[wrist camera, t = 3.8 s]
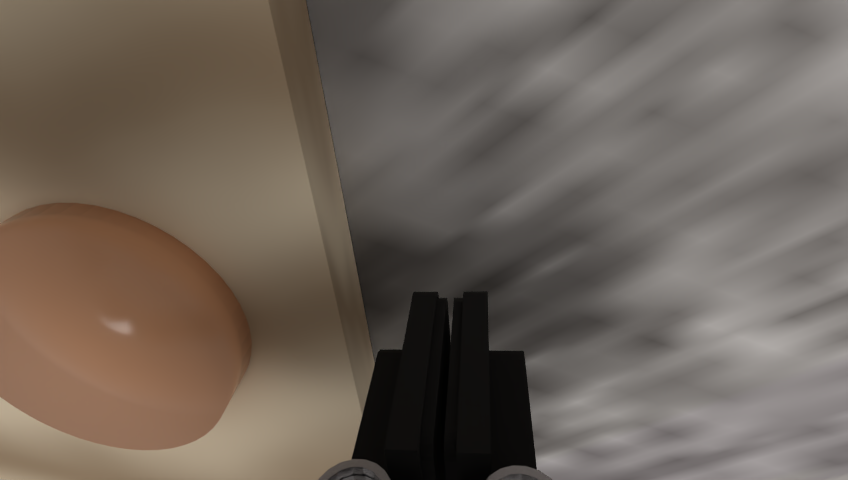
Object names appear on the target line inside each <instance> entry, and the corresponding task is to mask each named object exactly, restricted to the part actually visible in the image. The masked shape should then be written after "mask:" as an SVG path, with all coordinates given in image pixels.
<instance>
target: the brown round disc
mask: <svg viewBox="0 0 848 480" xmlns="http://www.w3.org/2000/svg"><path fill="white" fill-rule="evenodd" d="M251 348H252V341H251V334H250V329H249V325H248V322H247V319H246V316H245V314H244V312H243V310H242V308H241V305H240V303H239V302H238V300H237V299H236V297H235V295H234V294H233V292H232V291H231V289H230V288H229V287H228V285H227V284H226V283H225V282H224V280H223V279H222V278H221V277H220V275H219V274H218V273H217V272H216V271H215V270H214V269H213V268H212V267H211V266H210V265H209V264H208V263H207V262H206V261H205V260H204V259H202V258H201V257H200V256H199V255H198V254H196V253H195V252H194V251H193V250H192V249H190V248H189V247H188V246H186V245H185V244H183V243H182V242H180V241H179V240H177V239H176V238H175V237H173V236H171V235H170V234H168V233H166V232H164V231H163V230H161V229H159V228H157V227H155V226H153V225H151V224H149V223H147V222H145V221H142V220H140V219H138V218H136V217H133V216H130V215H127V214H125V213H122V212H119V211H116V210H112V209H108V208H104V207H100V206H96V205H88V204H80V203H52V204H43V205H39V206H35V207H32V208H28V209H25V210H23V211H21V212H19V213H17V214H15V215H13V216H12V217H10V218H8V219H6V220H5V221H3V222H1V223H0V397H1V398H2V399H4V400H5V401H7V402H8V403H9V404H11V405H12V406H14V407H15V408H17V409H19V410H20V411H22V412H24V413H25V414H27V415H29V416H30V417H32V418H34V419H36V420H38V421H40V422H42V423H44V424H46V425H48V426H50V427H52V428H55V429H57V430H59V431H61V432H64V433H66V434H69V435H72V436H75V437H77V438H80V439H83V440H87V441H90V442H93V443H97V444H102V445H106V446H110V447H116V448H123V449H132V450H162V449H170V448H175V447H179V446H183V445H186V444H189V443H191V442H194V441H196V440H198V439H199V438H201V437H203V436H205V435H206V434H207V433H208V432H209V431H210V430H212V429H213V428H214V426H215V425H216V424H217V423H218V421H219V420H220V418H221V416H222V415H223V413H224V411H225V409H226V407H227V405H228V404H229V402H230V400H231V398H232V396H233V394H234V393H235V391H236V389H237V387H238V385H239V384H240V382H241V380H242V378H243V376H244V374H245V372H246V370H247V368H248V366H249V362H250V358H251Z"/></svg>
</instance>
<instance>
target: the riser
mask: <svg viewBox="0 0 848 480" xmlns="http://www.w3.org/2000/svg"><path fill="white" fill-rule="evenodd" d="M52 203H80V204H88V205H96V206H100V207H104V208H108V209H112V210H116V211H119V212H122V213H125V214H127V215H130V216H133V217H136V218H138V219H140V220H142V221H145V222H147V223H149V224H151V225H153V226H155V227H157V228H159V229H161V230H163V231H164V232H166V233H168V234H170V235H171V236H173V237H175V238H176V239H177V240H179V241H180V242H182V243H183V244H185V245H186V246H188V247H189V248H190V249H192V250H193V251H194V252H195V253H196V254H198V255H199V256H200V257H201V258H202V259H204V260H205V261H206V262H207V263H208V264H209V265H210V266H211V267H212V268H213V269H214V270H215V271H216V272H217V273H218V274H219V275H220V277H221V278H222V279H223V280H224V282H225V283H226V284H227V285H228V287H229V288H230V289H231V291H232V292H233V294H234V295H235V297H236V299H237V300H238V302H239V303H240V305H241V308H242V310H243V312H244V314H245V316H246V319H247V322H248V325H249V329H250V334H251V341H252V348H251V358H250V362H249V366H248V368H247V370H246V372H245V374H244V376H243V378H242V380H241V382H240V384H239V385H238V387H237V389H236V391H235V393H234V394H233V396H232V398H231V400H230V402H229V404H228V405H227V407H226V409H225V411H224V413H223V415H222V416H221V418H220V420H219V421H218V423H217V424H216V425H215V426H214V428H213V429H212V430H210V431H209V432H208V433H207V434H206V435H205V436H203V437H201V438H199V439H198V440H196V441H194V442H191V443H189V444H186V445H183V446H179V447H175V448H170V449H162V450H132V449H123V448H116V447H110V446H106V445H102V444H97V443H93V442H90V441H87V440H83V439H80V438H77V437H75V436H72V435H69V434H66V433H64V432H61V431H59V430H57V429H55V428H52V427H50V426H48V425H46V424H44V423H42V422H40V421H38V420H36V419H34V418H32V417H30V416H29V415H27V414H25V413H24V412H22V411H20V410H19V409H17V408H15V407H14V406H12V405H11V404H9V403H8V402H7V401H5V400H4V399H2V398H1V397H0V479H2V480H318V479H319V478H320V477H321V476H322V475H323V474H324V473H325V472H326V471H327V470H328V469H329V468H331V467H333V466H335V465H337V464H338V463H340V462H343V461H347V460H351V459H352V455H353V451H354V447H355V443H356V439H357V435H358V431H359V427H360V423H361V419H362V415H363V411H364V407H365V402H366V398H367V394H368V390H369V386H370V382H371V378H372V374H373V370H374V366H375V363H374V357H373V352H372V347H371V341H370V336H369V331H368V326H367V320H366V315H365V310H364V304H363V299H362V294H361V289H360V283H359V278H358V273H357V268H356V262H355V257H354V252H353V246H352V241H351V236H350V231H349V225H348V220H347V215H346V210H345V204H344V199H343V194H342V188H341V183H340V178H339V173H338V167H337V162H336V157H335V152H334V146H333V141H332V136H331V130H330V125H329V120H328V115H327V109H326V104H325V99H324V93H323V88H322V83H321V78H320V72H319V67H318V62H317V57H316V51H315V46H314V41H313V35H312V30H311V25H310V20H309V14H308V9H307V4H306V0H0V223H1V222H3V221H5V220H6V219H8V218H10V217H12V216H13V215H15V214H17V213H19V212H21V211H23V210H25V209H28V208H32V207H35V206H39V205H43V204H52Z"/></svg>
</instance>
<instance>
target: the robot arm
mask: <svg viewBox="0 0 848 480" xmlns="http://www.w3.org/2000/svg"><path fill="white" fill-rule="evenodd" d="M318 480H552V479H551V478H550V477H548V476H547V475H545V474H544V473H542V472H541V471H539V470H537V468H536V459H535V449H534V440H533V431H532V421H531V412H530V403H529V393H528V384H527V375H526V365H525V357H524V352H523V351H489V339H488V293H487V292H464V293H463V298H454V307H453V321H452V335H451V342H450V328H449V315H448V301H447V298H439V295H438V292H414V293H413V296H412V302H411V307H410V312H409V318H408V323H407V328H406V334H405V339H404V344H403V350H380V351H379V352H378V355H377V358H376V362H375V366H374V370H373V374H372V378H371V382H370V386H369V390H368V394H367V398H366V402H365V407H364V411H363V415H362V419H361V423H360V427H359V431H358V435H357V439H356V443H355V447H354V451H353V455H352V459H351V460H347V461H343V462H340V463H338V464H337V465H335V466H333V467H331V468H329V469H328V470H327V471H326V472H325V473H324V474H323V475H322V476H321V477H320V478H319V479H318Z"/></svg>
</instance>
